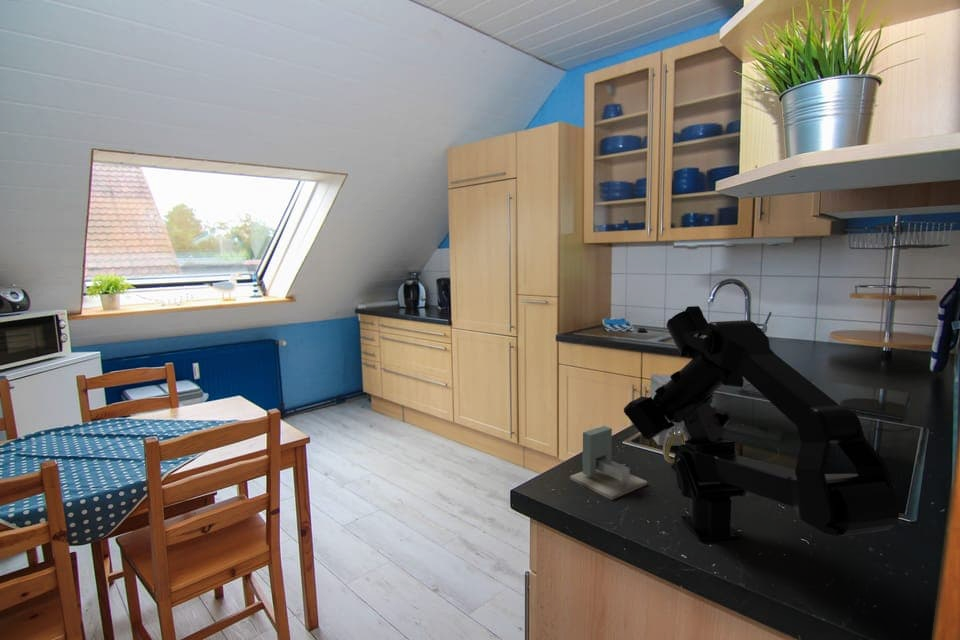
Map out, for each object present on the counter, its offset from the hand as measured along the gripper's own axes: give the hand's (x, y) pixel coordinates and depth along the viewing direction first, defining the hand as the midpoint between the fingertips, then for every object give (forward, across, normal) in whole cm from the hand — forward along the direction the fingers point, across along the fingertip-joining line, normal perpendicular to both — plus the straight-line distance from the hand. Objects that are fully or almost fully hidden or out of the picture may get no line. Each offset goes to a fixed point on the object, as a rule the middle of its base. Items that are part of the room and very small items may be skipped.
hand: (641, 430), depth 89 cm
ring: (+12, +16, -7) cm, 21 cm away
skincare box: (+18, +26, -1) cm, 32 cm away
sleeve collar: (+15, -1, 0) cm, 15 cm away
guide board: (+13, -1, -4) cm, 14 cm away
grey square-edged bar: (+14, -1, -2) cm, 14 cm away
